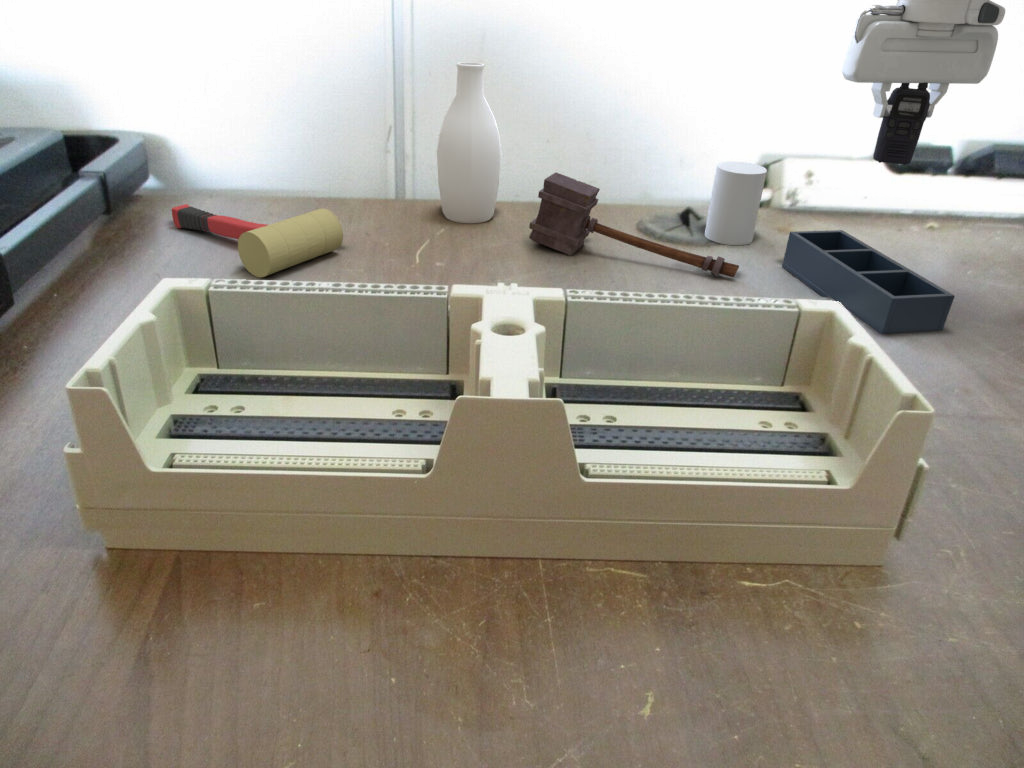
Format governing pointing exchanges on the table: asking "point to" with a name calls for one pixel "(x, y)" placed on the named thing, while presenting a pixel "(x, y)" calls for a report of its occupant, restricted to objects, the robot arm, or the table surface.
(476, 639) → the table surface
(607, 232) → the hammer
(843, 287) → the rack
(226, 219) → the mallet
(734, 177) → the white cylinder
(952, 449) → the table surface
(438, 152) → the bottle
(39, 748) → the table surface
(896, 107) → the two-way radio
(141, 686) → the table surface
